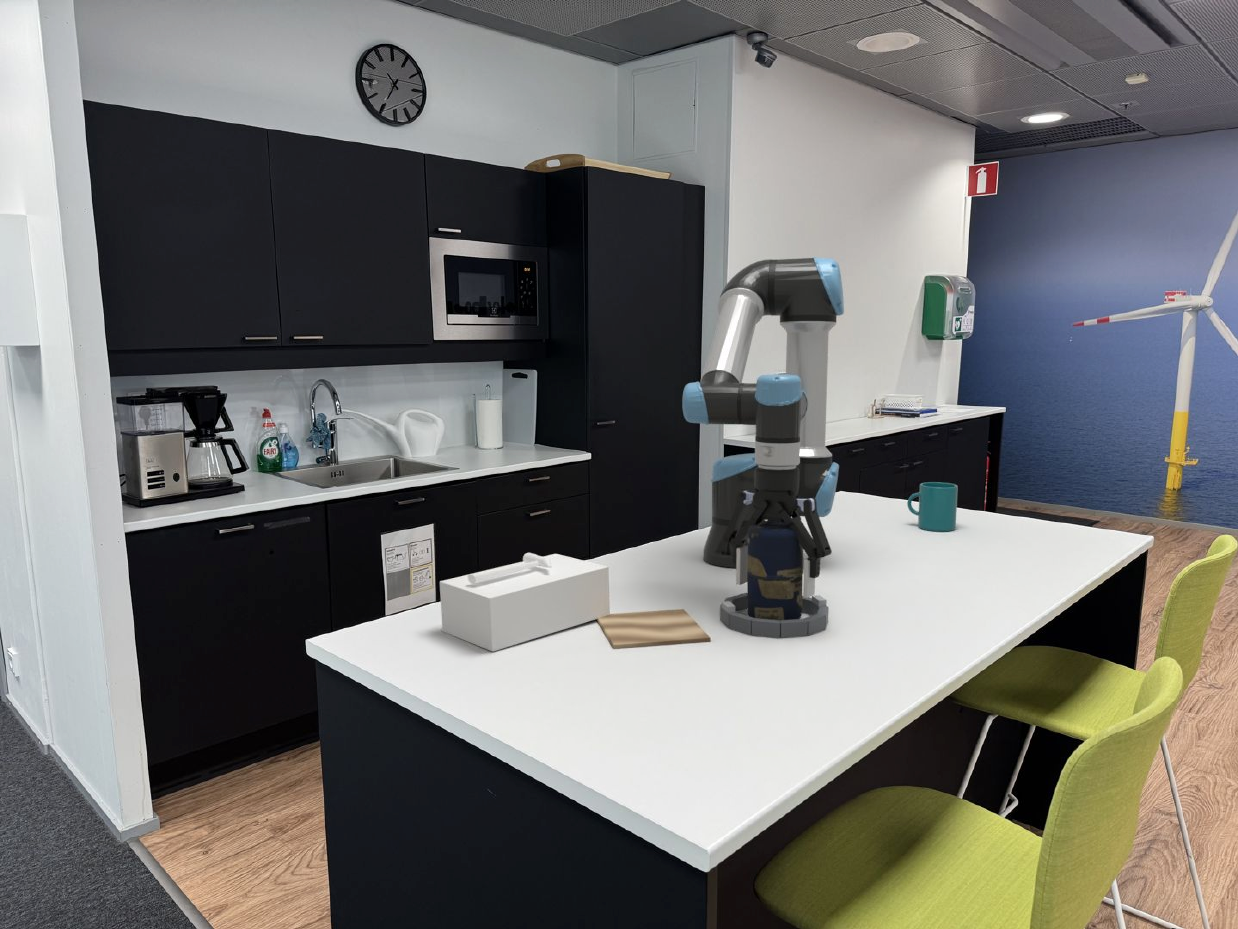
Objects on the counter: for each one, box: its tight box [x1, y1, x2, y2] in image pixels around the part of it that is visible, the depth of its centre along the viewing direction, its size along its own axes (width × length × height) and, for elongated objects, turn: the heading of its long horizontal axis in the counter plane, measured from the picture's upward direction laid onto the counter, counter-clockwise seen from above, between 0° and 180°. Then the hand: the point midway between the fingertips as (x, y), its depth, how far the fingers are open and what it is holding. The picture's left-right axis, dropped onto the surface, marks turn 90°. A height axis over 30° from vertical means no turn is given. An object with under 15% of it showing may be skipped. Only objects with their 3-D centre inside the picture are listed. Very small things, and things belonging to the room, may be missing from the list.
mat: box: [595, 608, 711, 649], centre depth 153 cm, size 16×16×1 cm
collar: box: [719, 592, 829, 639], centre depth 158 cm, size 18×18×4 cm
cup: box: [906, 481, 959, 533], centre depth 232 cm, size 9×12×11 cm
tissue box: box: [439, 552, 611, 652], centre depth 155 cm, size 14×25×11 cm, turn 133°
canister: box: [746, 520, 804, 620], centre depth 157 cm, size 10×10×18 cm
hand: (774, 589), depth 157 cm, fingers open, 12 cm apart
